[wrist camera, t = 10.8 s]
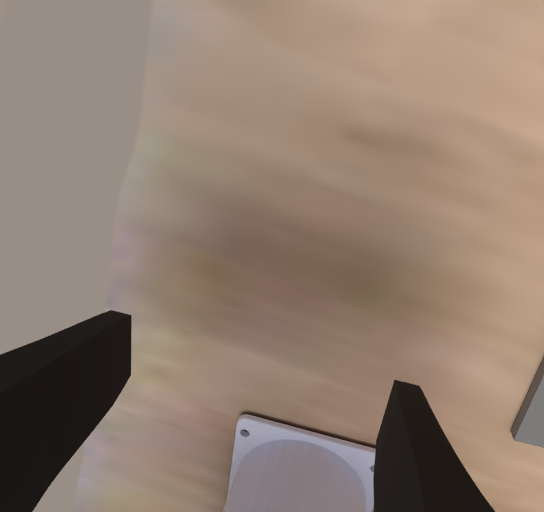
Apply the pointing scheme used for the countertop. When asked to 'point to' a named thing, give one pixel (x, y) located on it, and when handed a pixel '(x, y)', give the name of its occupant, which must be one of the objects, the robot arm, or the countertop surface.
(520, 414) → the mat
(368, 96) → the countertop surface
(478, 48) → the countertop surface
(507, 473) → the countertop surface
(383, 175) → the countertop surface
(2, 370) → the robot arm
